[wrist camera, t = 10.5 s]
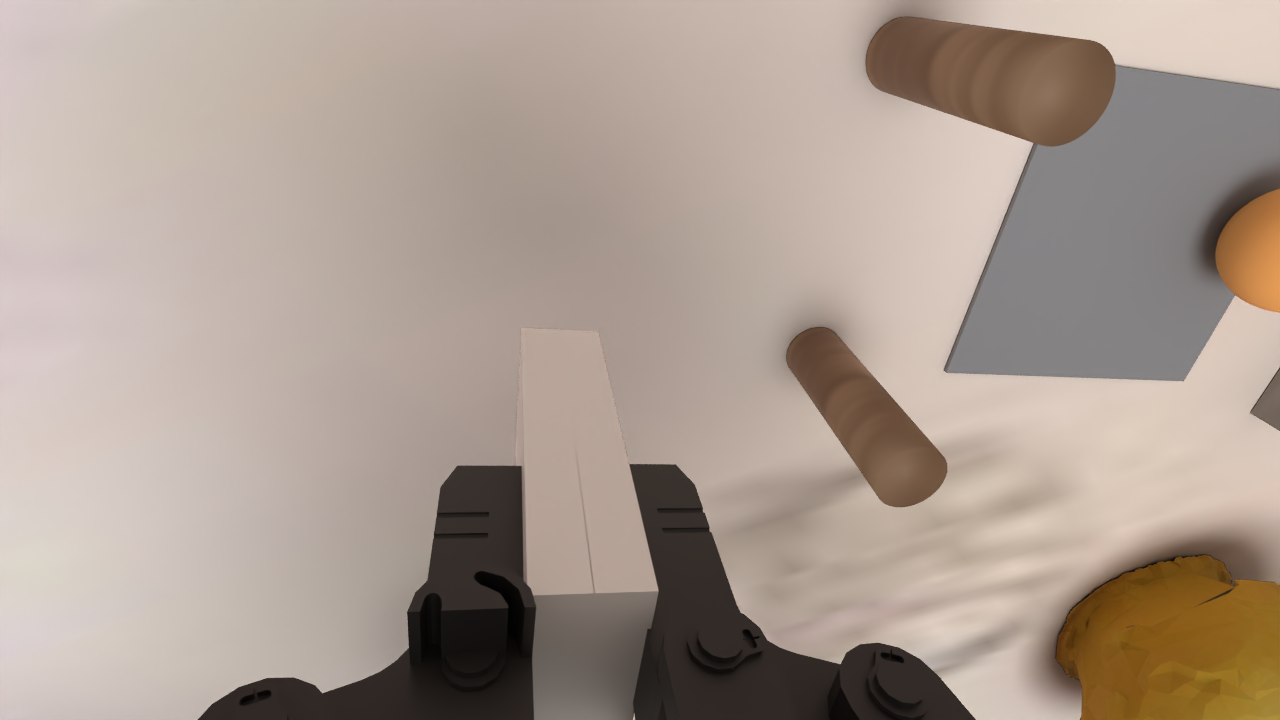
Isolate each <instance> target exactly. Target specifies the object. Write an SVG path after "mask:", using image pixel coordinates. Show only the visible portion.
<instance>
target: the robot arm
mask: <svg viewBox="0 0 1280 720" xmlns="http://www.w3.org/2000/svg"><path fill="white" fill-rule="evenodd" d="M407 615H408V636H409V648H408V649H407V650H406V652H405V653H404V654H403V655H402V656H401V657H400V658H399V659H398V660H397V661H395V662H394V663H392V664H391V665H390V666H388V667H387V668H385V669H384V670H382V671H381V672H379V673H377V674H374V675H372V676H370V677H368V678H365V679H363V680H361V681H358V682H355V683H352V684H349V685H346V686H343V687H340V688H337V689H334V690H331V691H328V692H325V693H323V694H322V693H321V692H320V690H319V689H318V688H317V687H316V686H315V685H312V684H310V683H307V682H304V681H302V680H299V679H296V678H266V679H263V680H260V681H257V682H254V683H251V684H248V685H245V686H241V687H239V688H237V689H235V690H234V691H232V692H231V693H229V694H228V695H226V696H224V697H223V698H221V699H220V700H218V701H217V702H215V703H213V704H212V705H211V706H210V707H209V708H208V709H207V710H206V711H205V713H204V714H203V715H202V716H201V717H200V718H199V719H198V720H633V716H634V713H635V720H976V719H975V718H974V717H973V716H972V715H971V714H970V712H969V711H968V710H967V709H966V708H965V707H964V705H963V704H962V703H961V702H960V701H959V700H958V698H957V697H956V696H955V695H954V694H953V693H952V691H951V690H950V689H949V688H948V687H947V686H946V684H945V683H944V682H943V681H942V680H941V678H940V677H939V676H938V675H937V674H936V673H935V672H934V671H932V670H931V669H930V668H929V667H928V666H927V665H926V664H925V663H924V662H923V661H921V660H920V659H919V658H917V657H915V656H913V655H911V654H910V653H908V652H906V651H904V650H902V649H900V648H898V647H894V646H890V645H885V644H881V643H871V644H860V645H858V646H857V647H855V648H853V649H852V650H850V651H849V652H847V653H846V654H845V657H844V659H843V661H842V663H841V664H837V663H832V662H828V661H824V660H820V659H816V658H812V657H808V656H804V655H800V654H796V653H793V652H790V651H788V650H785V649H782V648H779V647H778V646H776V645H774V644H772V643H771V642H769V641H767V639H766V637H765V636H764V634H763V632H762V631H761V629H760V628H759V627H758V626H757V625H756V624H755V623H753V622H752V621H751V620H750V619H749V618H748V617H746V616H745V615H744V614H742V613H740V611H739V609H738V607H737V605H736V602H735V599H734V596H733V593H732V590H731V587H730V585H729V582H728V579H727V576H726V573H725V570H724V567H723V564H722V562H721V559H720V556H719V553H718V550H717V547H716V544H715V542H714V539H713V536H712V533H711V532H710V531H709V524H708V522H707V519H706V516H705V513H703V507H702V504H701V502H700V499H699V496H698V493H697V490H696V487H695V485H694V484H693V482H692V481H691V480H690V479H689V478H688V477H687V476H686V475H685V474H684V473H683V472H682V471H681V470H680V469H679V468H678V467H677V466H676V465H665V464H629V461H628V457H627V453H626V448H625V444H624V440H623V436H622V431H621V427H620V423H619V418H618V414H617V410H616V405H615V401H614V397H613V393H612V388H611V384H610V380H609V375H608V371H607V367H606V362H605V358H604V354H603V350H602V345H601V341H600V337H599V332H598V331H586V330H564V329H541V328H521V345H520V364H519V383H518V402H517V421H516V440H515V466H457V467H456V468H455V469H454V471H453V472H452V473H451V475H450V476H449V477H448V478H447V480H446V481H445V482H444V484H443V485H442V486H441V488H440V495H439V502H438V510H437V518H436V524H435V531H434V539H433V546H432V553H431V560H430V567H429V574H428V581H427V582H426V583H425V584H424V585H423V586H422V587H421V588H420V589H419V590H418V591H417V592H416V593H415V595H414V597H413V600H412V602H411V605H410V607H409V609H408V612H407Z"/></svg>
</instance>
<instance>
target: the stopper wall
mask: <svg viewBox="0 0 1280 720" xmlns="http://www.w3.org/2000/svg"><path fill="white" fill-rule="evenodd" d="M1251 414H1253V415H1254V416H1256V417H1258V418H1259V419H1261V420H1263V421H1264V422H1266V423H1268V424H1269V425H1271V426H1273V427H1274V428H1276V429H1277V430H1279V431H1280V369H1279V371H1278V372H1277V374H1276V375H1275V377H1274V378H1273V380H1272V381H1271V383H1270V384H1269V386H1268V387H1267V389H1266V390H1265V392H1264V393H1263V395H1262V396H1261V398H1260V399H1259V401H1258V402H1257V404H1256V405H1255V407H1254V408H1253V410H1252V411H1251Z"/></svg>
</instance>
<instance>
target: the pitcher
mask: <svg viewBox="0 0 1280 720" xmlns="http://www.w3.org/2000/svg"><path fill="white" fill-rule="evenodd" d="M1230 578H1231V577H1230V573H1229V572H1227V570H1226V566H1225V564H1223V562H1221V561H1219V560H1214V559H1213V557H1211V556H1206V555H1205V554H1204V555H1202V556H1200V555H1199V556H1198V557H1195V556H1193V557H1189V556H1188V557H1185V558H1182V557H1181V556H1180V557H1176V558H1175V560H1174V561H1167V562H1163V561H1161V562H1158V563H1157V564H1156V565H1155V564H1154V566H1153V565H1148V567H1147V568H1144V569H1142V568H1139V569H1137V570H1135V572H1128V573H1124V574H1122V575H1121V576H1120V577H1119V578H1117V579H1113V580H1112V581H1109V582H1107V583H1106V584H1104V585H1103V586H1102V587H1100V588H1098V589H1097V590H1095V591H1094V592H1093V593H1092V594H1090V595H1089V596H1088V597H1087V598H1085V599H1084V600H1083V601H1082V602H1081V603H1078V605H1077V606H1076V607H1074V608H1073V609H1072V611H1070V614H1069V615H1068V616H1067V618H1066V621H1067V623H1066V624H1064V628H1063V629H1062V631H1061V633H1060V635H1059V636H1058V637H1059V638H1058V640H1059V641H1058V642H1057V644H1058V645H1057V647H1056V648H1057V650H1058V651H1056V656H1055V658H1056V660H1058V662H1059V664H1060V665H1061V666H1062V667H1063V669H1064V670H1065V671H1064V672H1065V673H1066V675H1070V677H1075V679H1076V678H1077V679H1078V680H1080V682H1081V686H1082V715H1081V718H1080V720H1280V585H1278V584H1277V583H1275V582H1266V581H1253V580H1234V585H1235V587H1234V586H1231V583H1232V580H1231V579H1230Z"/></svg>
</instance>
